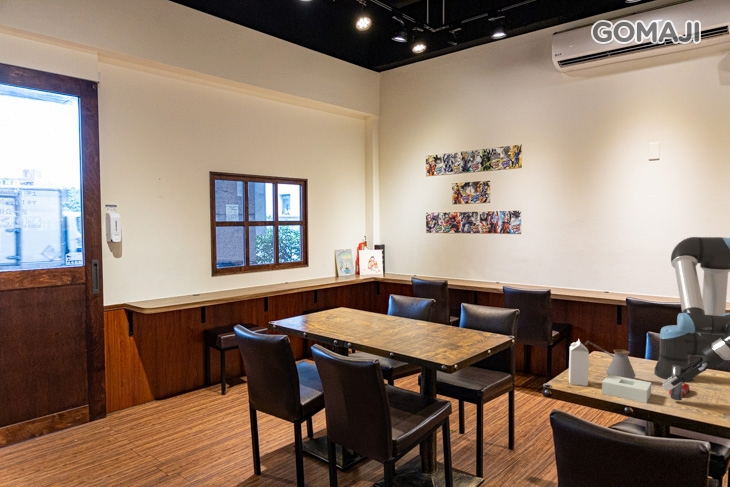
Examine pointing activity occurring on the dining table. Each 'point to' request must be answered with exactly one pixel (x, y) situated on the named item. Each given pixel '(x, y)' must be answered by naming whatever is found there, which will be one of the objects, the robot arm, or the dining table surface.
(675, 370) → the peg
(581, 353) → the milk carton
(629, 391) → the hole block
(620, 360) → the coffee pot
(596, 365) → the dining table surface
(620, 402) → the dining table surface
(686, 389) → the race car
